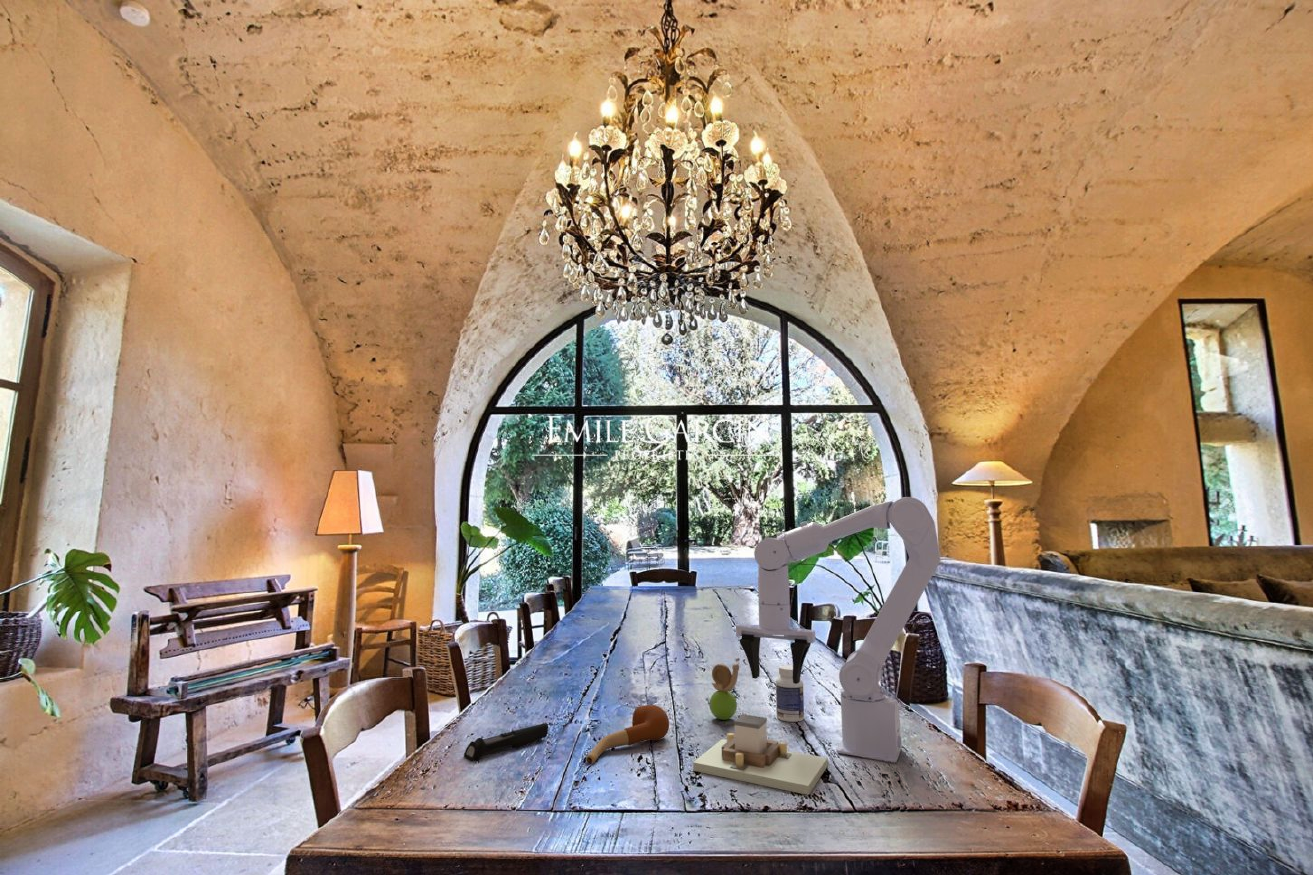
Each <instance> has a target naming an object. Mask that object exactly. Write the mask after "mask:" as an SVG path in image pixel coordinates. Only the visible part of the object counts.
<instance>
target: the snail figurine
mask: <svg viewBox="0 0 1313 875" xmlns="http://www.w3.org/2000/svg"><path fill="white" fill-rule="evenodd" d="M740 660H741V659H740V657H737V658H735V662H737V663H733V665H732V671H731V670H730V668H729V667H728V666H727V665H726V664H724V663H717V664H716V665H714V667H713V668H712V671H711V676H712V679H713V681H714V682H712V684H711V685H712V687H713V688H714V689H715V690H716V691H715V692H714V693H712V695H711V696H710V698H709V703H708V704H709V706H708V707H709V709H710V710H709V711H710V712H711V714H712V715H713V716H714V717H715V718H717V719H719V720H721V721H725V720H729V719H731V718H732V717H734V715H735V714H736V712H737V708H738V701H737V699H736V697H735V696H734V694H733V693H732V692H730V691H732V690H733V689H734V688H735V687H736V685H737V684H736V683H737V680H738V676H739V671H740Z"/></svg>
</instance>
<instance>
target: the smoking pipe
mask: <svg viewBox="0 0 1313 875" xmlns="http://www.w3.org/2000/svg"><path fill="white" fill-rule="evenodd" d="M631 720H632V721H631V726H629V727H625V728H624V729H622V730H619V731H616V732H614V733H610V734H608V735H606V736H604V737H602V738H601V739H600V740H599V741H598V743H597V744H596V745H595V746H594V747H593V749H592V750H591V751H590V752H589V753H588V754H587V755H586V756H585V761H586V763H587V764H589V763H590V762H591V764H592V765H593V764H595V763H596V762H597V761H596V760H597V759H599V757H600V755H601V754H603V753H604V752H605V751H607V750H609V749H613V748H618V747H622V746H631V745H635V744H638V743H642V742H646V741H656V742H657V741H660V740H662V739H664V737H665V736H666V735H667V734H668V732H669V729H670V721H669V717H668V714H667V713H666V711H665V710H664V709H663V708H662V707H660V706H659V705H657V704H645V705H644V704H643V705H638V706H636V707H635V708H634V711H633V713H632V719H631ZM591 764H590V765H591Z"/></svg>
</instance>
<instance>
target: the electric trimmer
mask: <svg viewBox="0 0 1313 875" xmlns="http://www.w3.org/2000/svg"><path fill="white" fill-rule="evenodd" d="M548 734H549V724H548V722H545V723H544V722H543V723H540V724H536V725H531V726H528V727H524V728H519V729H515V730H511V731H508V732H504V733H500V734H499V735H494V736H492V737H486V738H484V739H483V737H478V738H476V739H475V740H472V741H470V743H469V744H468V745H467V747H466V749H465V750H464V752H463V753H464V754H463V758H464V759H466V760H467V761H469V762H479V760H480V759H481V758H484V757H487V756H491V755H494V754H496V753H500V752H504V751H506V750H509V749H520V748H523V747H525V746H527V745H530V744H532V743H534V742H537V741H540V740H541V739H545V738H546V737H547V735H548Z"/></svg>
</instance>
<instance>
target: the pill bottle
mask: <svg viewBox="0 0 1313 875" xmlns="http://www.w3.org/2000/svg"><path fill="white" fill-rule="evenodd" d="M778 674H779V676H778V677H777V678H776V679H775V699H776V700H775V702H776V703H775V705H776V708H775V709H776V713H775V714H776V717H777V719H779V720H780V721H783V722H790V723H797V722H798V721H799V722H801V721H803V720H805V719H804V718H805V709H804V708H805V702H804V682H803V680H802V678H800V682H799V683H798V684H794V683H793V665H789V664H785V665H779V666H778Z"/></svg>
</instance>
